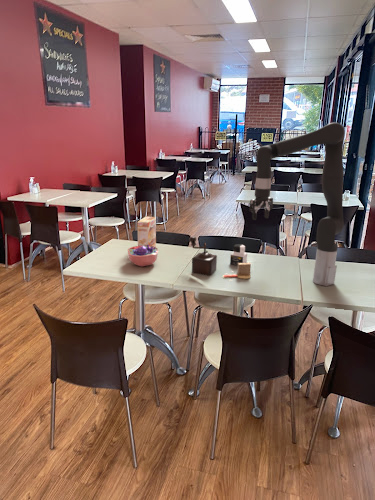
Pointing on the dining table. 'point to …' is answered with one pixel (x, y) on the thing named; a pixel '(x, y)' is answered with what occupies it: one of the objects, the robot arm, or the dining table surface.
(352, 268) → the dining table surface
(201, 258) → the pepper mill
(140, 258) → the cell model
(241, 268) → the brown block with rod
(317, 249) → the robot arm
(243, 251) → the medicine bottle
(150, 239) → the coffeecake box
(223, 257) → the dining table surface
